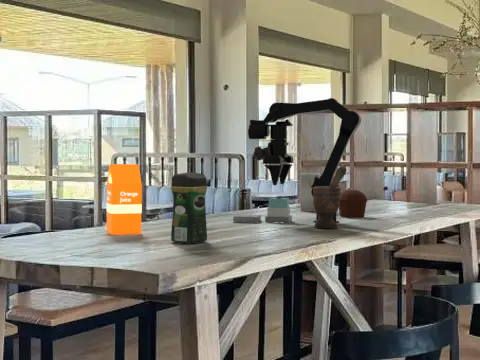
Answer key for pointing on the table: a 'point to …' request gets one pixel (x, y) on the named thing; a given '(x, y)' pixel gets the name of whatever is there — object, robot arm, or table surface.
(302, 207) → the circuit breaker
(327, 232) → the table surface
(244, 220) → the stand
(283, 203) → the housing
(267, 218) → the stand
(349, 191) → the muffin
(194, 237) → the coffee jar
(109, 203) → the orange juice
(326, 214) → the mortar and pestle
